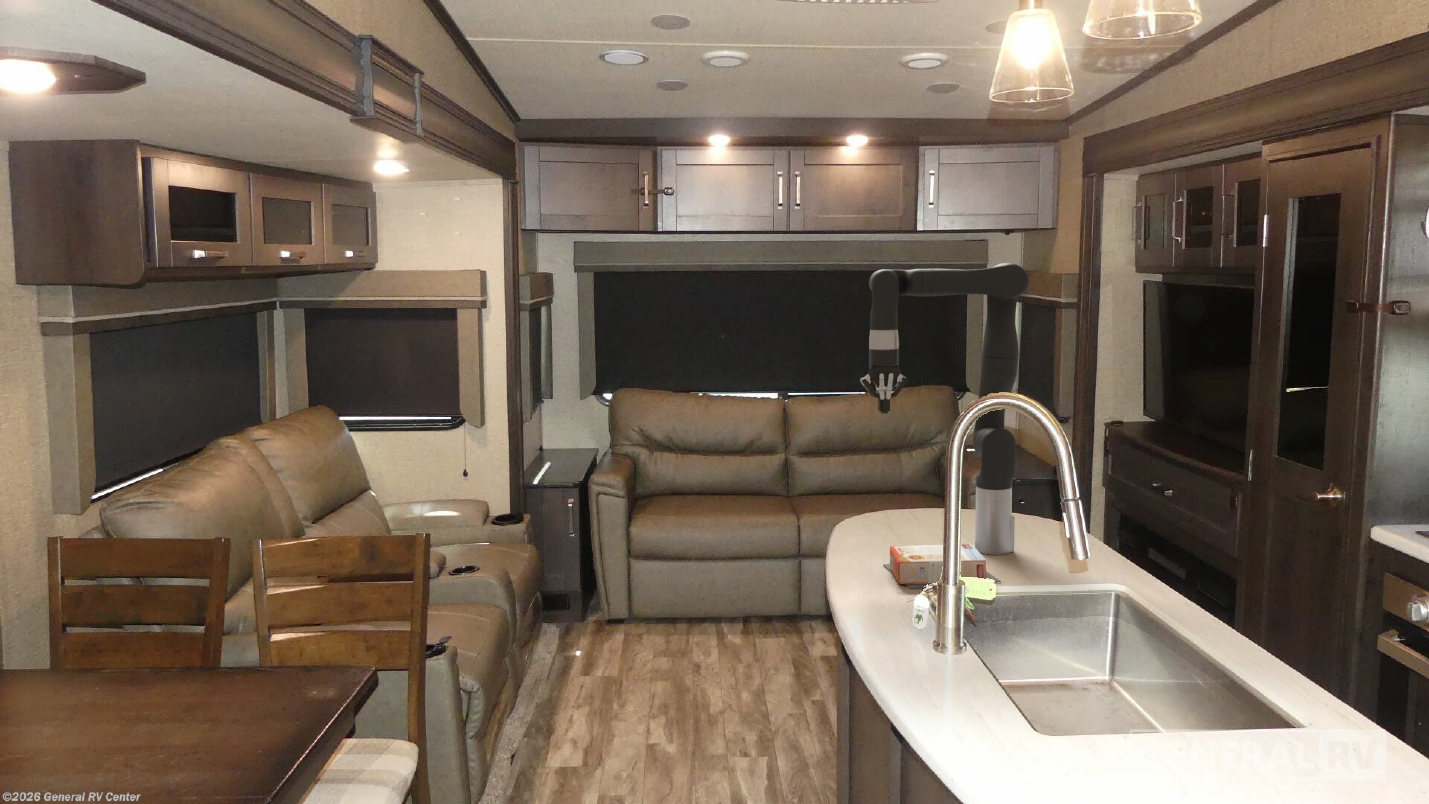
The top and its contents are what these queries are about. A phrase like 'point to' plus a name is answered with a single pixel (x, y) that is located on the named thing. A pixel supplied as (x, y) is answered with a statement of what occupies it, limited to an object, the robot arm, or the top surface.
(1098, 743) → the top surface
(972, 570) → the cracker box
